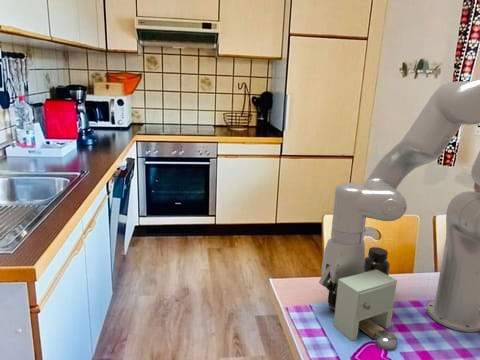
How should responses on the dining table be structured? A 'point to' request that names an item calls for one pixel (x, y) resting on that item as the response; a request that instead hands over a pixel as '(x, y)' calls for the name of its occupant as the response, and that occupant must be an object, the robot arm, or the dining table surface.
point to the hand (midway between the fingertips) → (340, 303)
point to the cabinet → (364, 301)
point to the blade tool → (367, 325)
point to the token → (385, 340)
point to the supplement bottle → (377, 260)
